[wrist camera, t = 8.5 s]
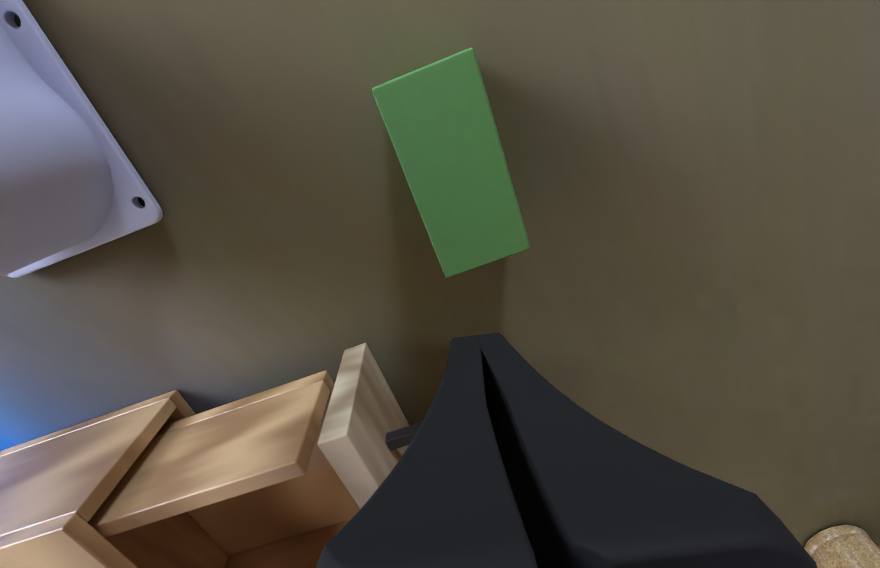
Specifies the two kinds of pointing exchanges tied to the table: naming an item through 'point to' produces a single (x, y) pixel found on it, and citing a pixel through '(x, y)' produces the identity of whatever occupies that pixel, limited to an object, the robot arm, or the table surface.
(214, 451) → the drawer
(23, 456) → the cabinet
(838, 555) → the sprinkles bottle
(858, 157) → the table surface
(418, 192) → the green block
